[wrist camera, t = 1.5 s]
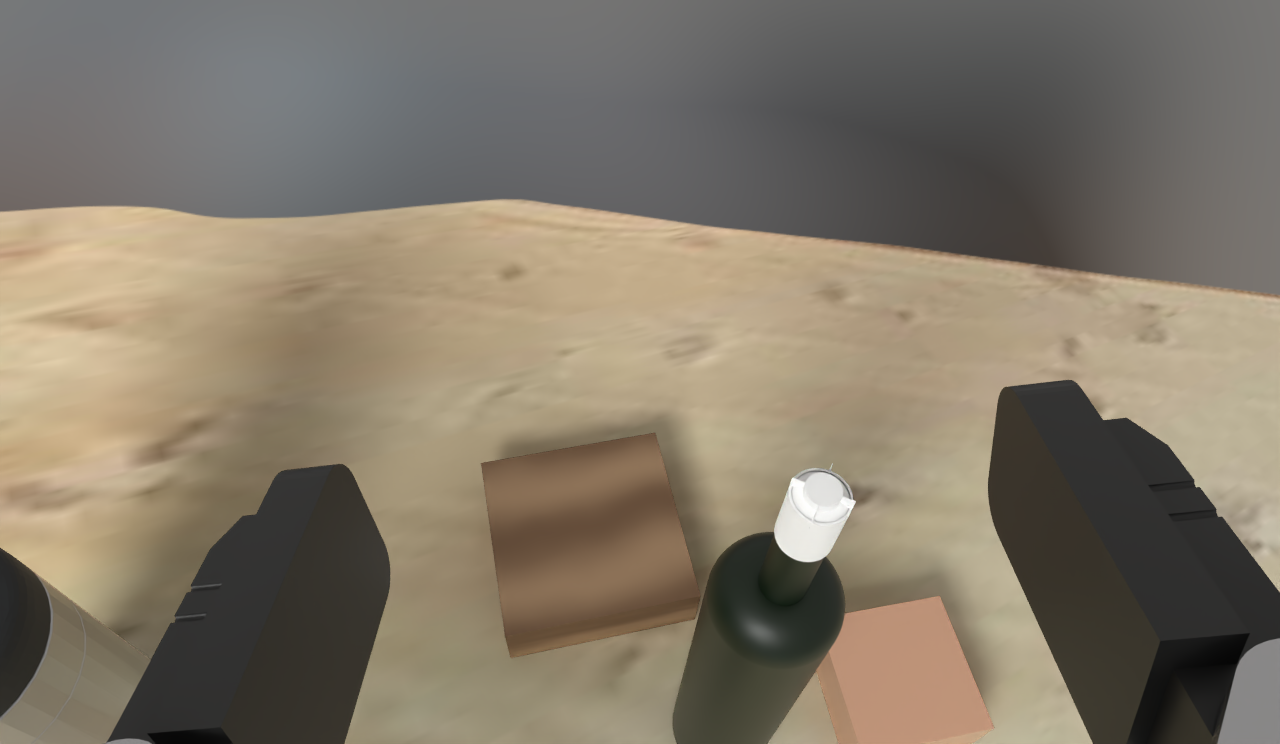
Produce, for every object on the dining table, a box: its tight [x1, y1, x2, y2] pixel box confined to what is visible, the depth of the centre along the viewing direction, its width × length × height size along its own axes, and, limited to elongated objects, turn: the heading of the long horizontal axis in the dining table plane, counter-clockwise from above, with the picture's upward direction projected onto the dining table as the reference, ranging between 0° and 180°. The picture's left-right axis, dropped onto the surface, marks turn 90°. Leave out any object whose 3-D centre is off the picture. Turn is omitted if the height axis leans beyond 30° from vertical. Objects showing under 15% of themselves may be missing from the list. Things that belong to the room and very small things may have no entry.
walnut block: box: [481, 433, 700, 658], centre depth 57 cm, size 12×12×4 cm
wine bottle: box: [673, 463, 856, 744], centre depth 40 cm, size 6×6×30 cm
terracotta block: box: [816, 596, 994, 744], centre depth 53 cm, size 8×8×4 cm
